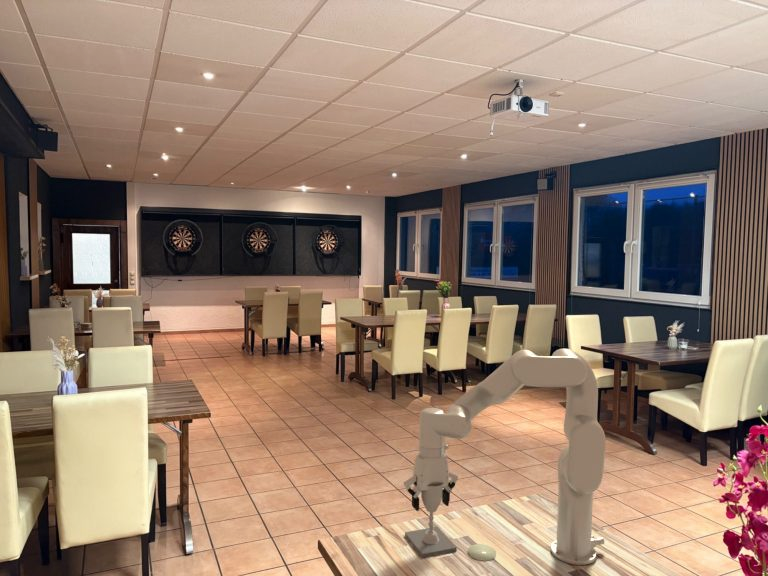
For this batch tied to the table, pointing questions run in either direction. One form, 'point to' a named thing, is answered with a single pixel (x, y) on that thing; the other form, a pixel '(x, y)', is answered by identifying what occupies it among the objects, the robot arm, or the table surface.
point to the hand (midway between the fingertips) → (430, 506)
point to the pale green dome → (482, 552)
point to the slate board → (430, 549)
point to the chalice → (431, 510)
